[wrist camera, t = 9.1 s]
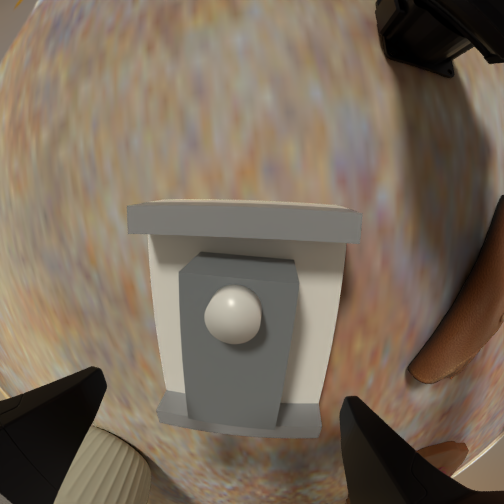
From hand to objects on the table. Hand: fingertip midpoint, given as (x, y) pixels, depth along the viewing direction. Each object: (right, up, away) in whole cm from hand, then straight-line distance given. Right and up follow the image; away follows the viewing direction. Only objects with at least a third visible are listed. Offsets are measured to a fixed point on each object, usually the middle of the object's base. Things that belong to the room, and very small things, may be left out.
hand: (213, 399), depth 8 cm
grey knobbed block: (+1, 0, +9) cm, 9 cm away
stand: (+1, +1, +12) cm, 12 cm away
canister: (-19, -24, +20) cm, 36 cm away
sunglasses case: (+23, +1, +11) cm, 25 cm away
